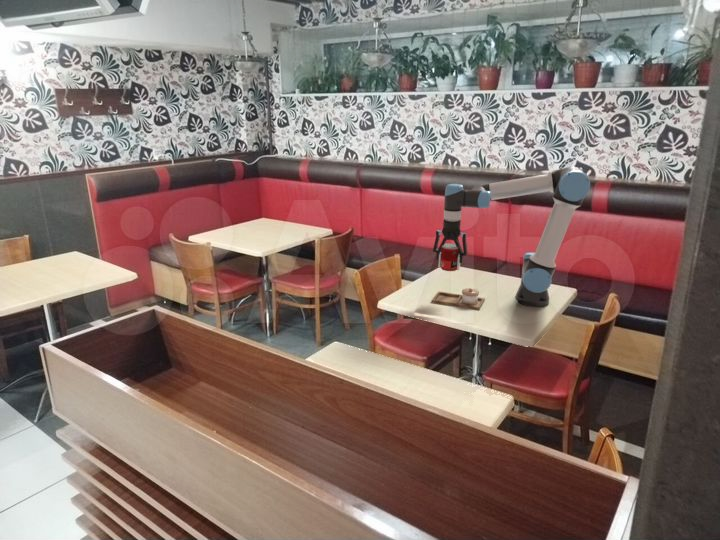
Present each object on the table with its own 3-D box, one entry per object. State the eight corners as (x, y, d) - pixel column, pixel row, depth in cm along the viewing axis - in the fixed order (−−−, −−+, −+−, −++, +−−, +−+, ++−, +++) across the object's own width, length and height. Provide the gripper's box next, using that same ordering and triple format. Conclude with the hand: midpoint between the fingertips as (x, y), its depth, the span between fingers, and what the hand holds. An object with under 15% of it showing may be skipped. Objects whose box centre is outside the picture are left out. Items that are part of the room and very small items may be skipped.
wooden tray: (484, 303, 249) (484, 298, 248) (479, 312, 239) (479, 307, 238) (438, 296, 257) (438, 291, 256) (431, 304, 247) (431, 299, 246)
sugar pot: (479, 301, 248) (480, 286, 245) (476, 307, 241) (477, 292, 239) (463, 299, 250) (464, 284, 248) (459, 304, 244) (460, 289, 241)
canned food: (453, 272, 240) (455, 248, 236) (437, 269, 244) (438, 246, 240) (460, 268, 246) (462, 244, 242) (444, 265, 250) (445, 242, 246)
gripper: (477, 219, 237) (473, 268, 244) (431, 215, 244) (429, 263, 252) (473, 223, 230) (470, 273, 237) (427, 218, 238) (424, 267, 245)
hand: (449, 268), depth 245 cm, fingers closed on canned food, 8 cm apart
